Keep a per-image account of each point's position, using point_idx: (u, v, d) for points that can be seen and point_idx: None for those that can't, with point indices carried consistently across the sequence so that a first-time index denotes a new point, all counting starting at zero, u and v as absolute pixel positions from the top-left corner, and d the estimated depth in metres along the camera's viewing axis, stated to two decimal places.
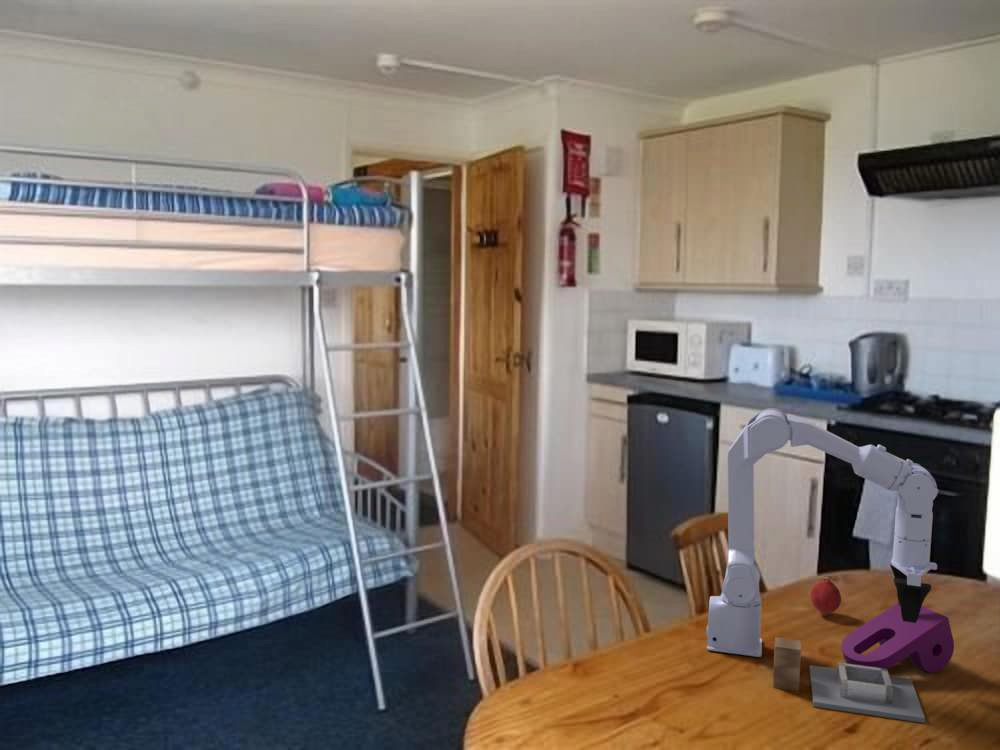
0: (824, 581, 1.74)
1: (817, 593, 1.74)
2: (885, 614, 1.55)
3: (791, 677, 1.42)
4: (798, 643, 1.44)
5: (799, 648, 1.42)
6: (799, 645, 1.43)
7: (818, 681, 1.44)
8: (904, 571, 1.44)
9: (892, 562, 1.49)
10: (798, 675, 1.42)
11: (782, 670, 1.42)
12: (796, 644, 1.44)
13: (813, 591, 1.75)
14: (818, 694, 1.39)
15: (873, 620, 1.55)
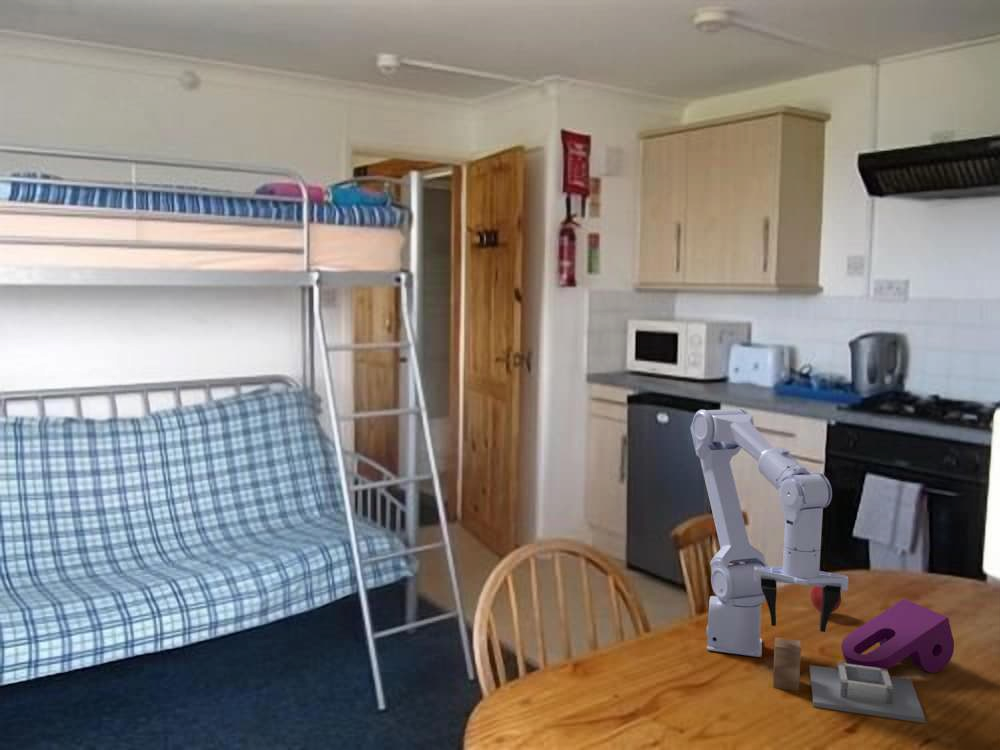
0: None
1: (817, 593, 1.74)
2: (885, 614, 1.55)
3: (791, 677, 1.42)
4: (798, 643, 1.44)
5: (799, 648, 1.42)
6: (799, 645, 1.43)
7: (818, 681, 1.44)
8: (767, 568, 1.45)
9: None
10: (798, 675, 1.42)
11: (782, 670, 1.42)
12: (796, 644, 1.44)
13: (813, 591, 1.75)
14: (818, 694, 1.39)
15: (873, 620, 1.55)
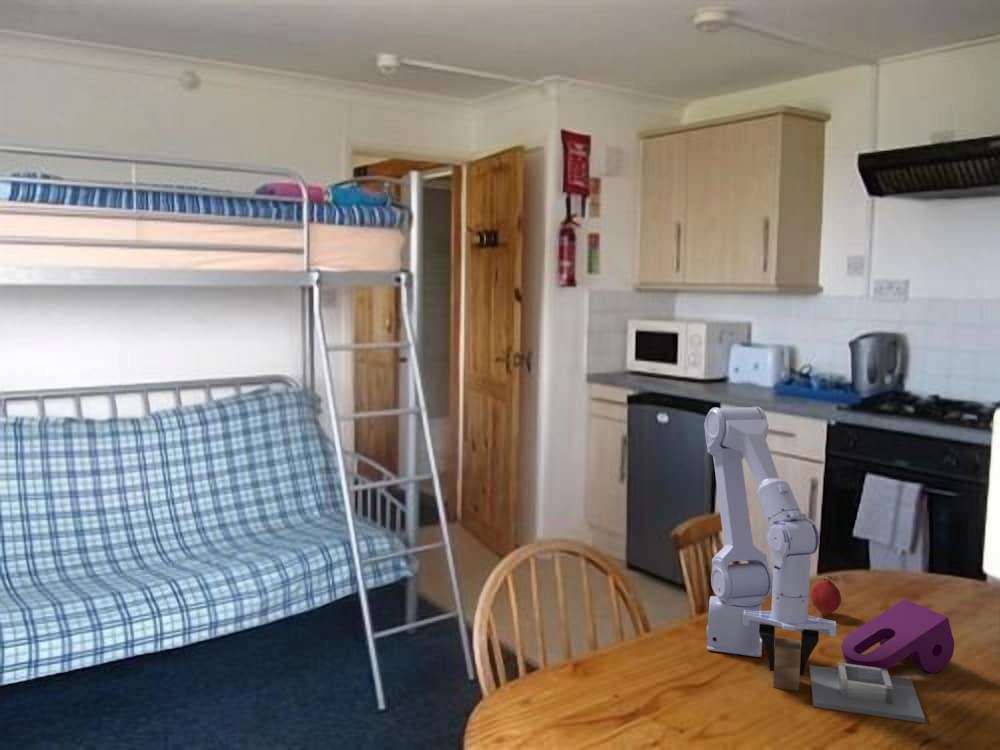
0: (824, 581, 1.74)
1: (817, 593, 1.74)
2: (885, 614, 1.55)
3: (791, 677, 1.42)
4: (798, 643, 1.44)
5: (799, 648, 1.42)
6: (799, 645, 1.43)
7: (818, 681, 1.44)
8: (756, 612, 1.46)
9: None
10: (798, 675, 1.42)
11: (782, 670, 1.42)
12: (796, 643, 1.44)
13: (813, 591, 1.75)
14: (818, 694, 1.39)
15: (873, 620, 1.55)
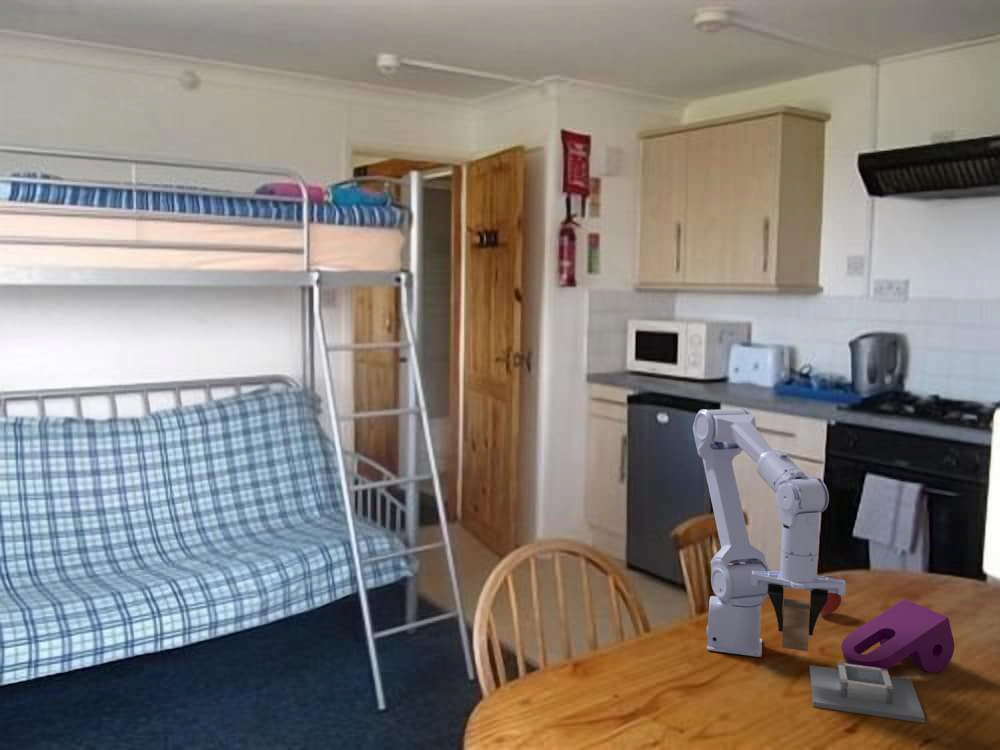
0: None
1: None
2: (885, 614, 1.55)
3: (800, 637, 1.41)
4: (807, 603, 1.43)
5: (808, 608, 1.41)
6: (808, 605, 1.42)
7: (818, 681, 1.44)
8: (765, 572, 1.45)
9: None
10: (807, 635, 1.41)
11: (790, 630, 1.41)
12: (805, 604, 1.42)
13: None
14: (818, 694, 1.39)
15: (873, 620, 1.55)
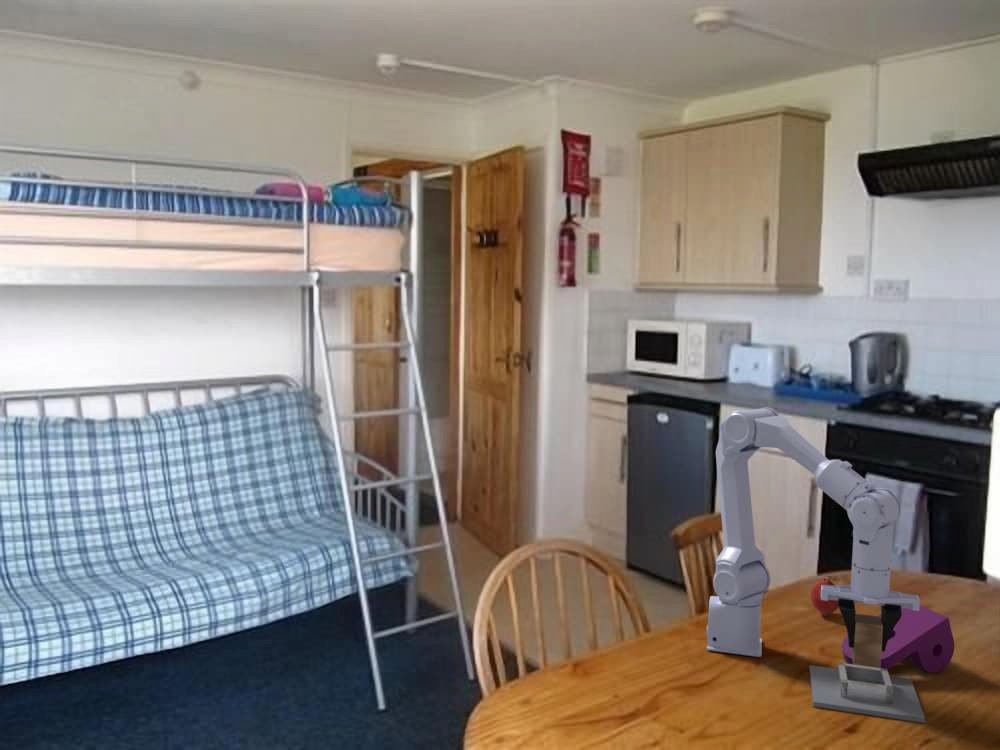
0: (824, 581, 1.74)
1: (817, 593, 1.74)
2: None
3: (873, 654, 1.38)
4: (879, 619, 1.40)
5: (881, 624, 1.38)
6: (880, 621, 1.39)
7: (818, 681, 1.44)
8: (834, 587, 1.42)
9: None
10: (880, 652, 1.37)
11: (863, 647, 1.38)
12: (877, 620, 1.39)
13: (813, 591, 1.75)
14: (818, 694, 1.39)
15: None
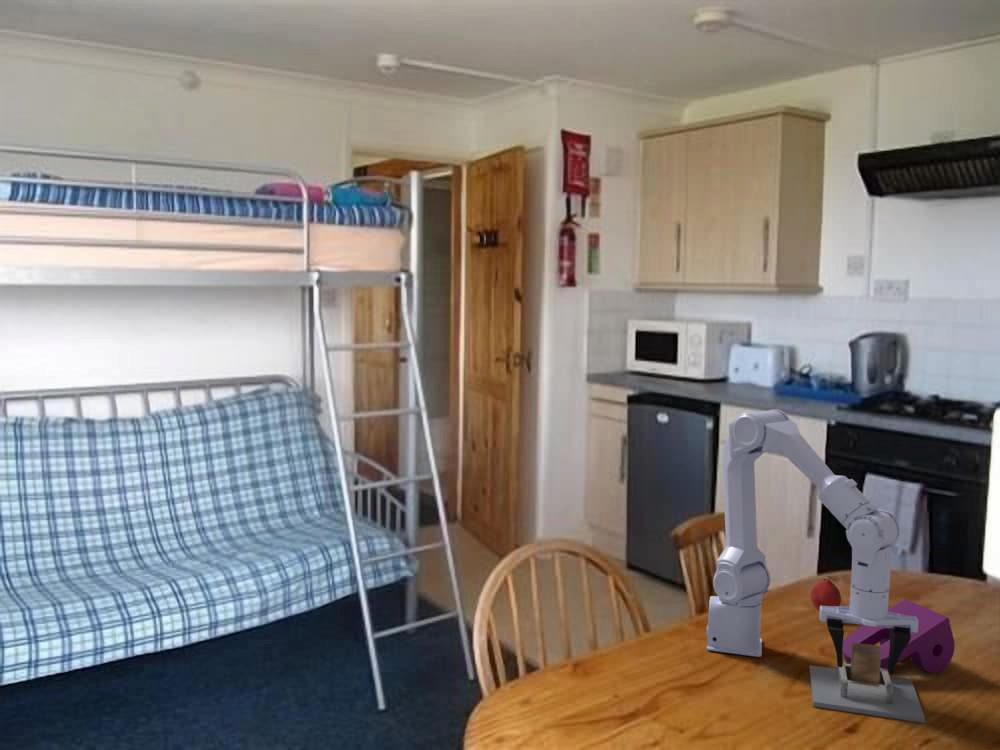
0: (824, 581, 1.74)
1: (816, 593, 1.74)
2: None
3: None
4: (877, 648, 1.40)
5: (878, 653, 1.38)
6: (878, 650, 1.39)
7: (818, 681, 1.44)
8: None
9: None
10: (878, 681, 1.38)
11: (860, 676, 1.39)
12: (875, 649, 1.40)
13: (813, 591, 1.75)
14: (818, 694, 1.39)
15: None
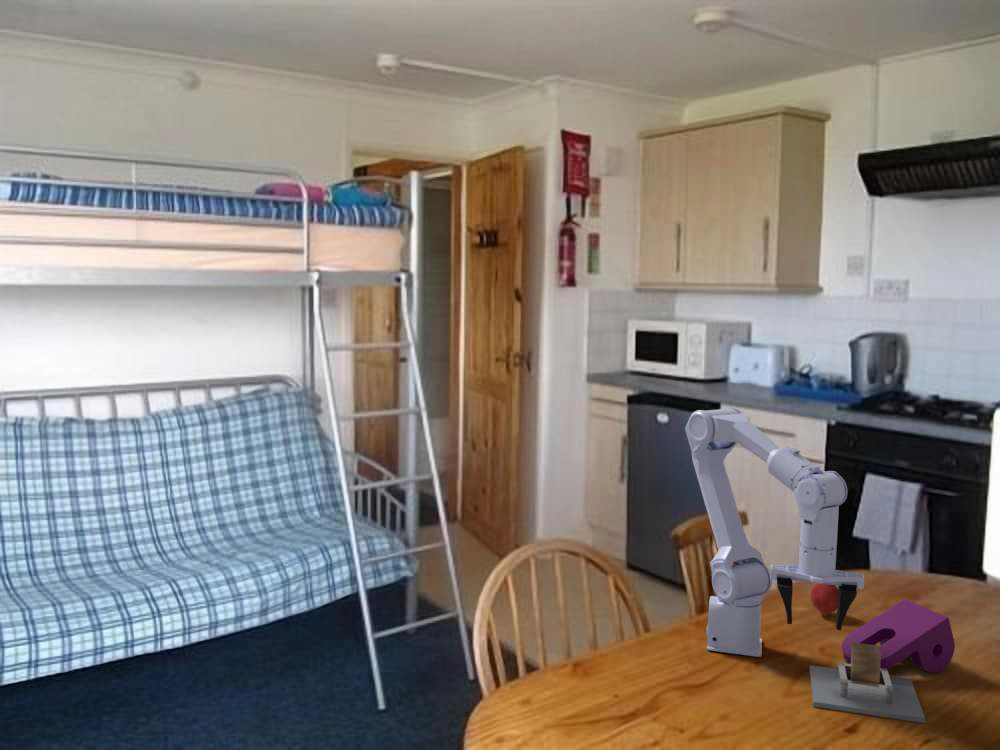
0: None
1: (816, 593, 1.74)
2: (885, 614, 1.55)
3: None
4: (877, 648, 1.40)
5: (878, 653, 1.38)
6: (878, 650, 1.39)
7: (818, 681, 1.44)
8: None
9: None
10: (878, 681, 1.38)
11: (860, 676, 1.39)
12: (875, 649, 1.40)
13: (813, 591, 1.75)
14: (818, 694, 1.39)
15: (874, 620, 1.55)
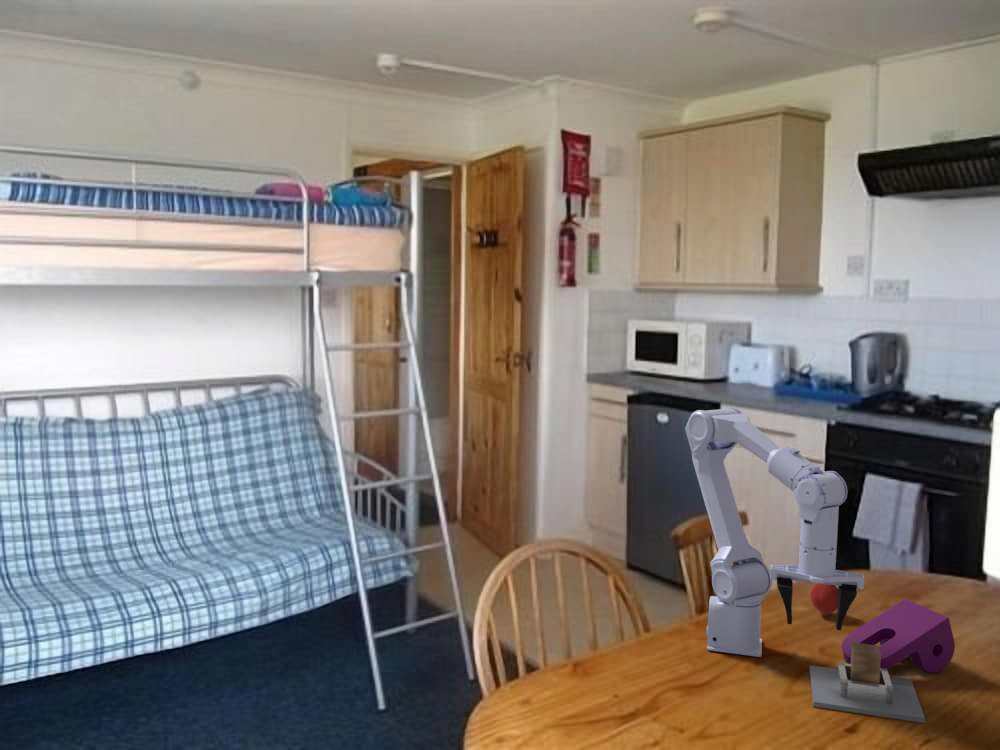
0: None
1: (816, 593, 1.74)
2: (885, 614, 1.55)
3: None
4: (877, 648, 1.40)
5: (878, 653, 1.38)
6: (878, 650, 1.39)
7: (818, 681, 1.44)
8: None
9: None
10: (878, 681, 1.38)
11: (860, 676, 1.39)
12: (875, 649, 1.40)
13: (813, 591, 1.75)
14: (818, 694, 1.39)
15: (874, 620, 1.55)
